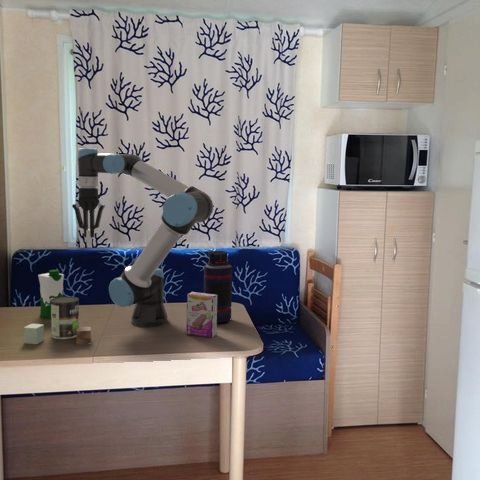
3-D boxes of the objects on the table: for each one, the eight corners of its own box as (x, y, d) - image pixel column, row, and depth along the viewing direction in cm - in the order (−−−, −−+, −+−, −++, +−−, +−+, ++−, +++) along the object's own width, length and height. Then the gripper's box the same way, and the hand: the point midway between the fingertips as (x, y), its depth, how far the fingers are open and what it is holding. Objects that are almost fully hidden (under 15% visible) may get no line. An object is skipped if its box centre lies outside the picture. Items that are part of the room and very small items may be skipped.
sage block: (44, 340, 203) (43, 324, 202) (37, 344, 198) (36, 328, 197) (31, 339, 204) (31, 323, 203) (24, 343, 199) (23, 327, 198)
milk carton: (49, 319, 228) (48, 272, 226) (36, 315, 234) (35, 269, 231) (67, 315, 236) (66, 269, 233) (54, 311, 241) (53, 266, 238)
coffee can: (84, 332, 213) (83, 297, 211) (71, 340, 203) (70, 303, 201) (60, 330, 215) (59, 295, 213) (46, 338, 205) (45, 301, 203)
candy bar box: (185, 335, 213) (186, 294, 210) (191, 331, 217) (191, 291, 215) (212, 338, 209) (213, 297, 207) (217, 334, 214) (217, 294, 211)
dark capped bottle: (235, 323, 230) (237, 253, 225) (209, 326, 224) (211, 254, 220) (222, 314, 242) (223, 248, 237) (197, 317, 237) (198, 249, 232)
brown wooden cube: (90, 339, 205) (90, 326, 204) (90, 343, 200) (90, 330, 200) (77, 340, 204) (76, 327, 203) (76, 344, 199) (76, 331, 198)
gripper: (69, 187, 214) (70, 246, 217) (102, 188, 214) (103, 247, 217) (74, 186, 221) (76, 243, 225) (106, 187, 221) (107, 244, 225)
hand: (89, 245), depth 221 cm, fingers closed
